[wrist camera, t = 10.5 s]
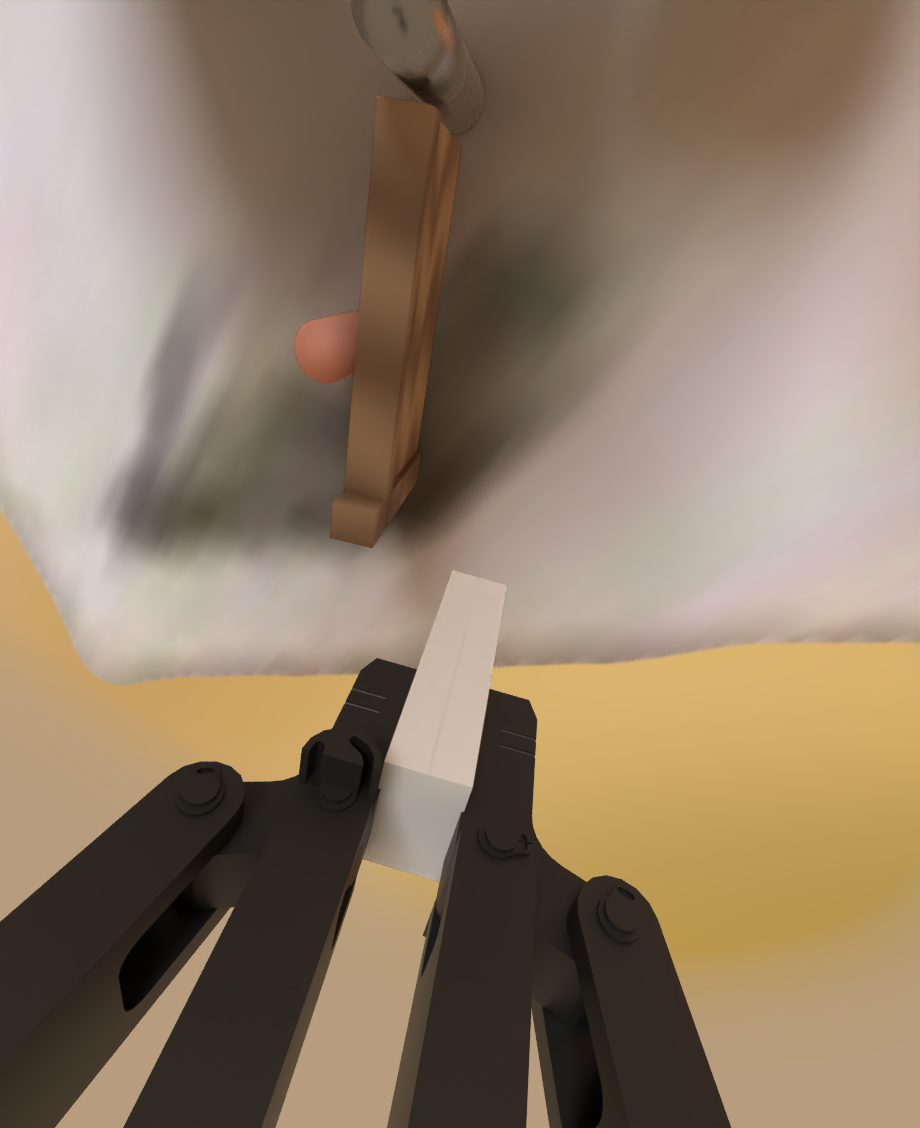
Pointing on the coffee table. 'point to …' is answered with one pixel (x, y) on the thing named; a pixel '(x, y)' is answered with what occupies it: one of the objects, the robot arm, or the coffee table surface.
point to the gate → (396, 312)
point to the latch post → (328, 347)
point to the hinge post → (425, 55)
